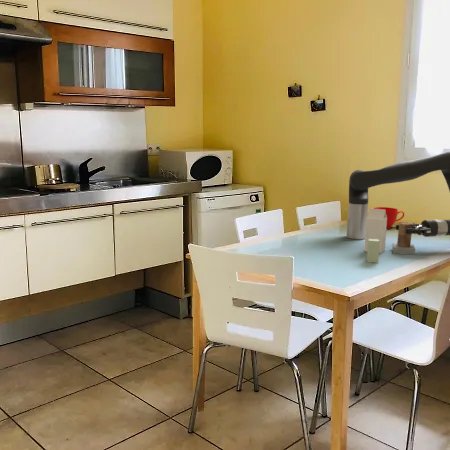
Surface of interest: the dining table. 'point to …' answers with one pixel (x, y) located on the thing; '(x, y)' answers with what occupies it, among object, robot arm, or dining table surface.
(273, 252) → the dining table surface
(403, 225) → the walnut block
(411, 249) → the grey slab
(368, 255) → the sage block
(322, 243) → the dining table surface
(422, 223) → the robot arm
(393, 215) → the ceramic cup
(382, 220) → the milk carton
